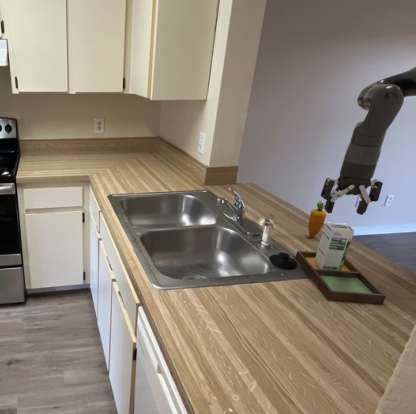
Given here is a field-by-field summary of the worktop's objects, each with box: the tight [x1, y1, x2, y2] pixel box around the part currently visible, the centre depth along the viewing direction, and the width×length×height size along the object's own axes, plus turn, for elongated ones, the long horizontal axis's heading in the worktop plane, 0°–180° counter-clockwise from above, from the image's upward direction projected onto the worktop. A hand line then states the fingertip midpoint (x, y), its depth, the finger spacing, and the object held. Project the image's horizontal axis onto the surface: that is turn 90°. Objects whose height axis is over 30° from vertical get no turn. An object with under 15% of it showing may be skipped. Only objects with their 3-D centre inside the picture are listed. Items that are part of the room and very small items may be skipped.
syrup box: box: [315, 221, 355, 271], centre depth 103 cm, size 6×6×14 cm
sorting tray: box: [295, 250, 387, 305], centre depth 101 cm, size 14×22×3 cm, turn 172°
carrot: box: [308, 200, 327, 239], centre depth 122 cm, size 5×5×15 cm
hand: (343, 213), depth 98 cm, fingers open, 8 cm apart
